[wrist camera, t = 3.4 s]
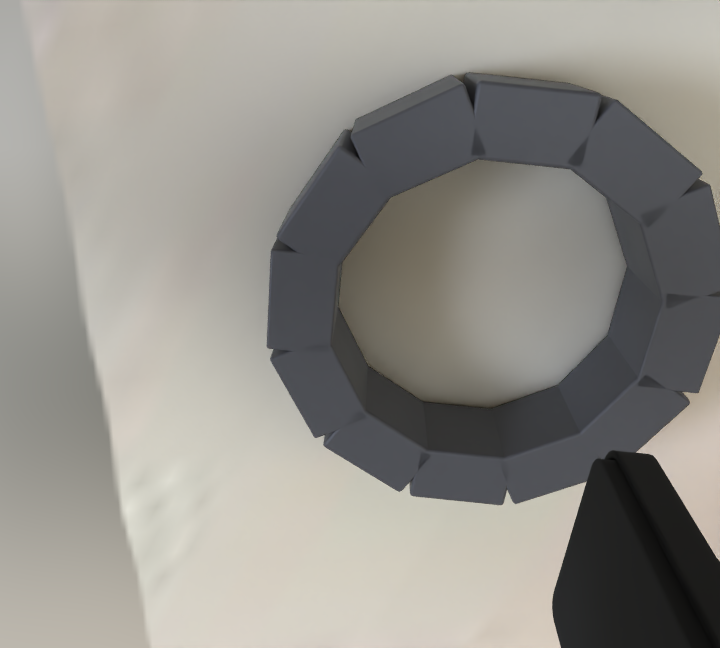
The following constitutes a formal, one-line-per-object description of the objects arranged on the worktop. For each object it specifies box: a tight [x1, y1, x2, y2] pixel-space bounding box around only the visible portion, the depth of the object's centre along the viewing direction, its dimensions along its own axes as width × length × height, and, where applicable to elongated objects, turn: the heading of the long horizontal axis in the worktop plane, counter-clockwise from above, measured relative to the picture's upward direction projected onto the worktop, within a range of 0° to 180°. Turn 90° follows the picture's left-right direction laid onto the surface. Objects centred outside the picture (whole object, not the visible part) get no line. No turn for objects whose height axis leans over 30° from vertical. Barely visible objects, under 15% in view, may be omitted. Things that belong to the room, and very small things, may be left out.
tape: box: [267, 72, 720, 505], centre depth 17 cm, size 11×11×2 cm
